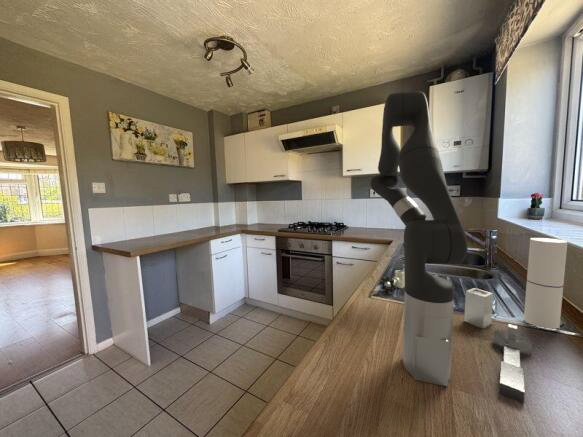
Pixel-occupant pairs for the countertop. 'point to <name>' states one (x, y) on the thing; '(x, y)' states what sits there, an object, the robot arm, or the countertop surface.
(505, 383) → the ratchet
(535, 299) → the cylindrical container
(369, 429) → the countertop surface
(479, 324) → the socket
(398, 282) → the valve
